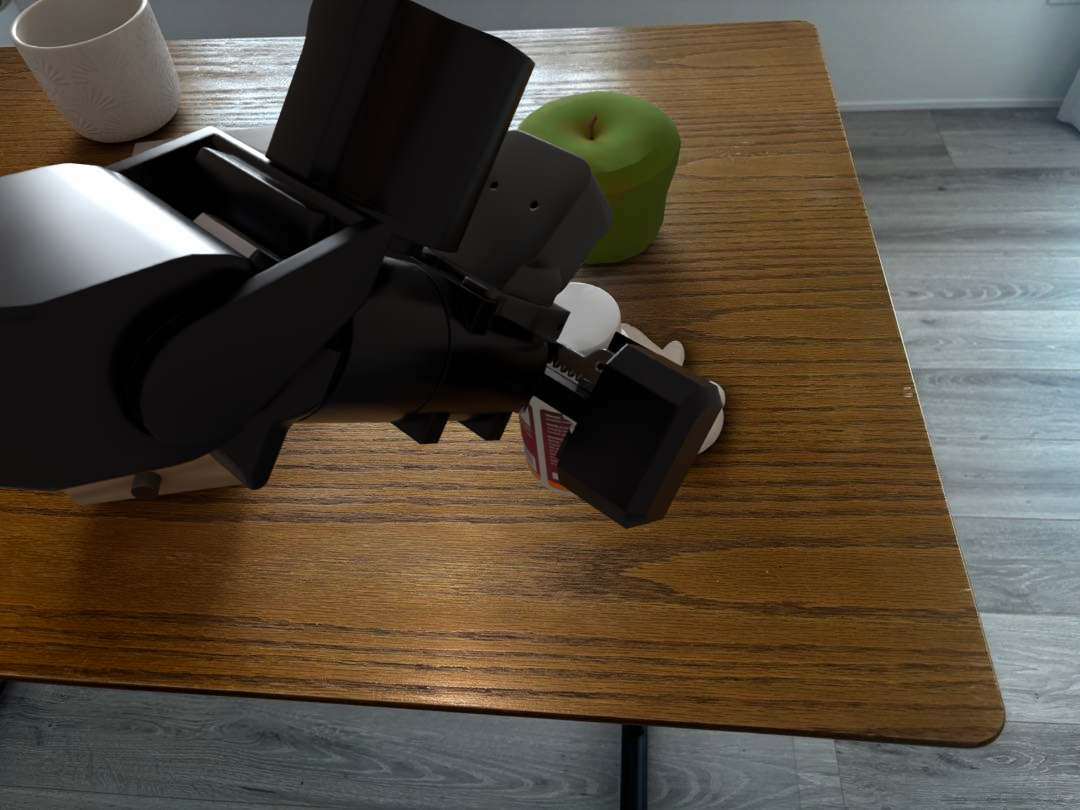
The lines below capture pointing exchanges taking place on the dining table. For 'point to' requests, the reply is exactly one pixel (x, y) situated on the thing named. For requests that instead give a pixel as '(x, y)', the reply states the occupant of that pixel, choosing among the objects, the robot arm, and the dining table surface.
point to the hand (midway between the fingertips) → (591, 362)
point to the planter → (100, 65)
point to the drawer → (156, 483)
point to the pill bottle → (584, 333)
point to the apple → (616, 160)
